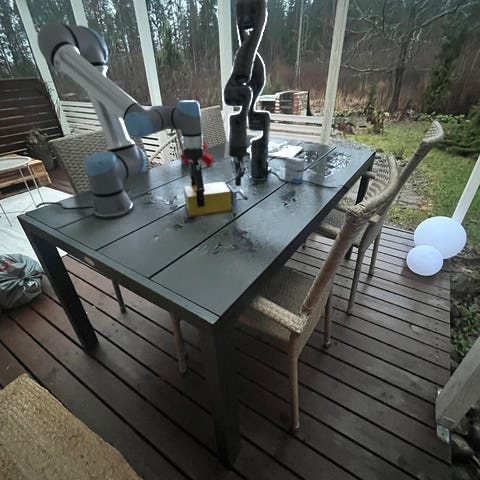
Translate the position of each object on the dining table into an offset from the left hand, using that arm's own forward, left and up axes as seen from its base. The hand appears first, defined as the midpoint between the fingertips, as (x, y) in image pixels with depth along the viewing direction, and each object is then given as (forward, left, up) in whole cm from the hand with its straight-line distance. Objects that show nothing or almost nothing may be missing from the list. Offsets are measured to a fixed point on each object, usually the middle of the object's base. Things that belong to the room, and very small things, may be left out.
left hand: (198, 200), depth 113 cm
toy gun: (-7, +65, -4) cm, 65 cm away
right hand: (+17, +5, +4) cm, 18 cm away
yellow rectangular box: (+4, +1, -4) cm, 6 cm away
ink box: (+47, +31, -4) cm, 57 cm away
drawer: (+9, +3, -3) cm, 10 cm away
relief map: (+45, +91, -4) cm, 102 cm away
